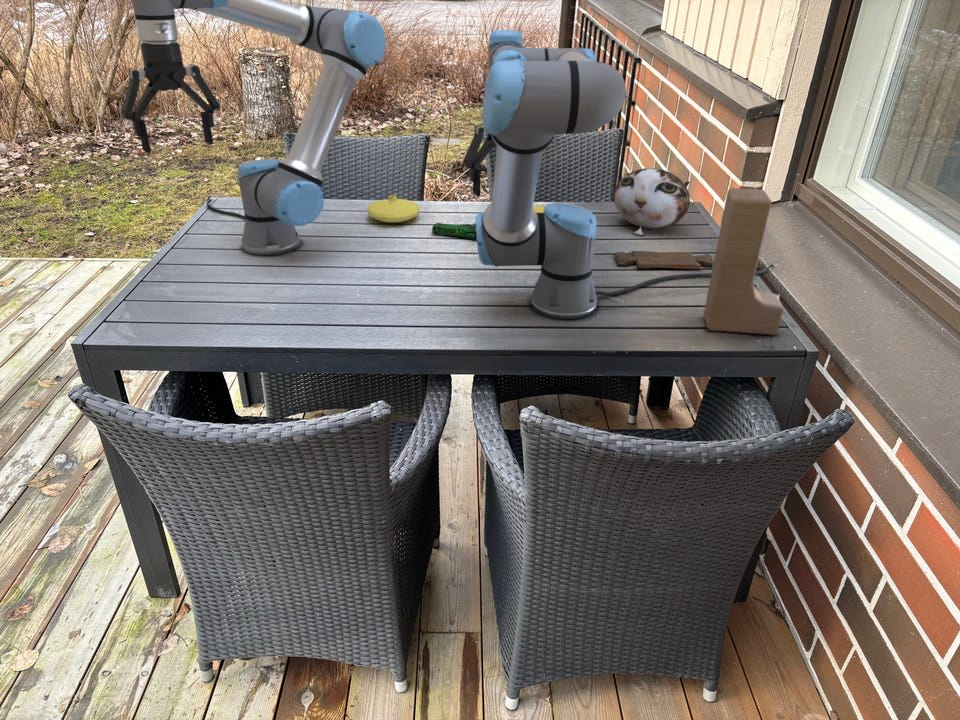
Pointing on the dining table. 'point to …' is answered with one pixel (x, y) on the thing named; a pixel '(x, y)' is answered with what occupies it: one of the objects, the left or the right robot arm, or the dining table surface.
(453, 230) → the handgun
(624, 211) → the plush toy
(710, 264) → the wooden paddle board
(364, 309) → the dining table surface
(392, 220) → the yellow pot lid
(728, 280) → the decorative block
